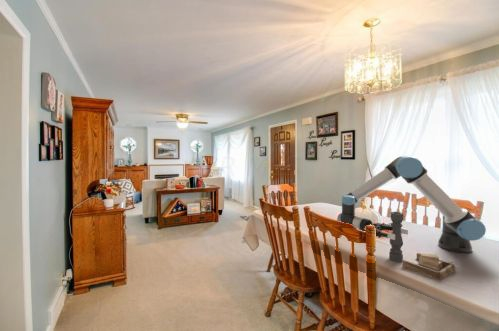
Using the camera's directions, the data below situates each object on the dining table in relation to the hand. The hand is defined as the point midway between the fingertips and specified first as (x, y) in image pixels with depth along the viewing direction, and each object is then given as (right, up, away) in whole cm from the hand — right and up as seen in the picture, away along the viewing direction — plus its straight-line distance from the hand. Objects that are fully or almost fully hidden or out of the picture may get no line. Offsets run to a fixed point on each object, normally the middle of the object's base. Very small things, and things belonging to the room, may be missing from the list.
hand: (401, 234), depth 123 cm
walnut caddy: (+8, -14, -7) cm, 18 cm away
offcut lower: (+12, -15, -4) cm, 19 cm away
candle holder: (-1, -14, +3) cm, 15 cm away
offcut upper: (+11, -12, -4) cm, 17 cm away
